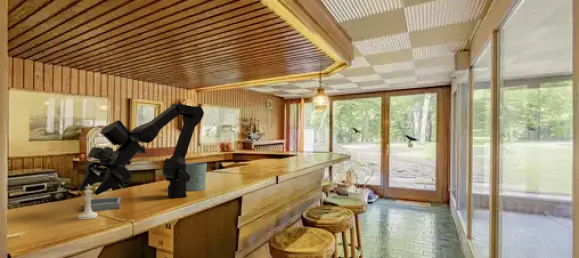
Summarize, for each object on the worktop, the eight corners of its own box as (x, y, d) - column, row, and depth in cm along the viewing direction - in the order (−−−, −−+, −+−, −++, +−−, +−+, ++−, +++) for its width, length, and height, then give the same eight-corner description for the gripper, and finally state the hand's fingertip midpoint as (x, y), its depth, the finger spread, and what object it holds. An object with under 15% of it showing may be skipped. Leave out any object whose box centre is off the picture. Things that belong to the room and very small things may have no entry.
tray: (120, 202, 106) (120, 196, 106) (119, 208, 97) (119, 202, 97) (88, 204, 101) (89, 199, 101) (84, 212, 93) (84, 205, 93)
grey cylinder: (202, 191, 126) (202, 164, 126) (179, 191, 127) (180, 164, 127) (209, 187, 136) (209, 162, 137) (188, 186, 137) (188, 162, 137)
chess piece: (81, 215, 89) (81, 183, 89) (99, 214, 91) (100, 182, 91) (75, 220, 84) (76, 186, 85) (95, 218, 86) (95, 185, 86)
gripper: (91, 137, 97) (51, 173, 87) (123, 139, 88) (82, 179, 78) (114, 158, 104) (79, 194, 94) (146, 162, 95) (111, 202, 85)
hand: (87, 192), depth 87 cm, fingers open, 9 cm apart
